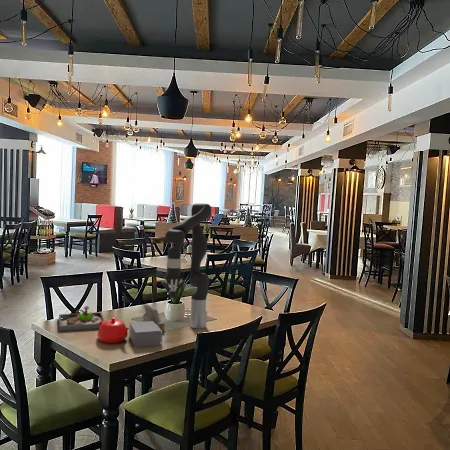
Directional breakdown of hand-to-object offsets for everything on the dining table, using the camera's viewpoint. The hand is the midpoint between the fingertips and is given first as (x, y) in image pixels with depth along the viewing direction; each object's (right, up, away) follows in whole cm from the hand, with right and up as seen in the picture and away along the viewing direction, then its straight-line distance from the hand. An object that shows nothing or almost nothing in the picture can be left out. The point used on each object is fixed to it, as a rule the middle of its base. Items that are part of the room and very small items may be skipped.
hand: (172, 297), depth 229 cm
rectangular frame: (-57, -19, +20) cm, 63 cm away
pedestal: (-8, -22, +13) cm, 27 cm away
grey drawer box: (-13, -21, -4) cm, 25 cm away
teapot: (-31, -22, -6) cm, 38 cm away
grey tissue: (-16, -21, +30) cm, 40 cm away
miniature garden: (-55, -20, +22) cm, 62 cm away
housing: (-15, -23, -4) cm, 27 cm away
